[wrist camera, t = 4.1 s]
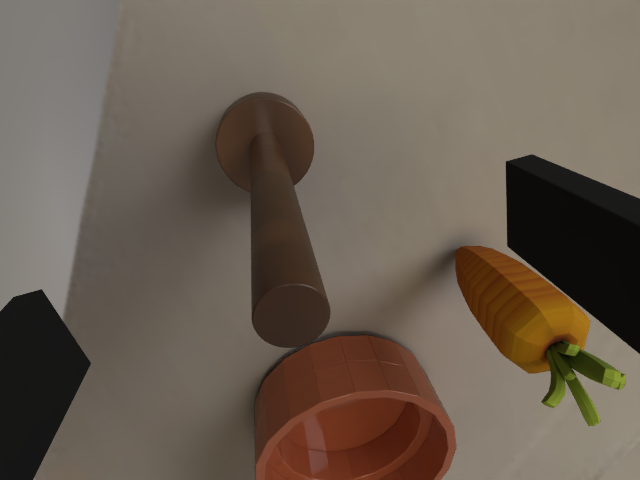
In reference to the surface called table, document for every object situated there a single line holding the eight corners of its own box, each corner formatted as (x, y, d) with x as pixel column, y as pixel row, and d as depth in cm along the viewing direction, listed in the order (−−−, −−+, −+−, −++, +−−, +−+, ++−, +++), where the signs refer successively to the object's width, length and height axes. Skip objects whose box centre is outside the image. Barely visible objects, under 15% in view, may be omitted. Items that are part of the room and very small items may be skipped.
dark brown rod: (235, 192, 27) (214, 431, 11) (205, 105, 24) (115, 246, 8) (317, 169, 27) (422, 370, 11) (296, 81, 24) (391, 169, 8)
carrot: (473, 282, 33) (622, 446, 20) (419, 271, 32) (540, 438, 19) (501, 228, 31) (688, 369, 18) (445, 213, 30) (601, 354, 17)
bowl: (281, 475, 40) (286, 549, 34) (230, 361, 33) (226, 430, 27) (432, 430, 41) (462, 495, 35) (413, 308, 33) (447, 365, 28)
